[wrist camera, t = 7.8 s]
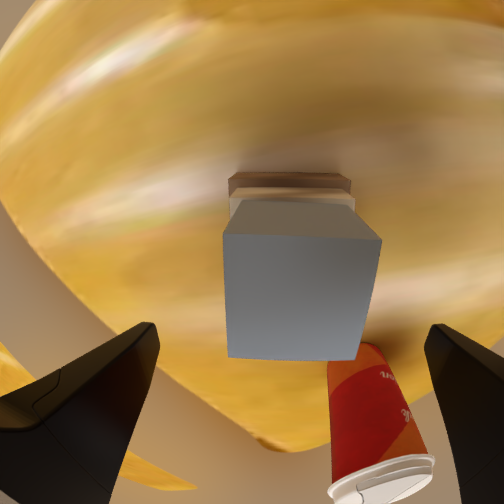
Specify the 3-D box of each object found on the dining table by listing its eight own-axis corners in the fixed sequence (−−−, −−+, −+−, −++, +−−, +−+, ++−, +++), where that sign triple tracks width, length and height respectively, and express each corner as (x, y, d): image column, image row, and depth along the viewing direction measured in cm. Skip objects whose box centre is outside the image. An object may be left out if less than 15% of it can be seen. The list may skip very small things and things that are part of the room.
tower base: (338, 173, 19) (365, 189, 13) (332, 267, 21) (351, 315, 15) (236, 172, 19) (218, 187, 13) (240, 266, 22) (226, 314, 16)
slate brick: (347, 204, 13) (382, 240, 8) (335, 297, 15) (354, 359, 10) (241, 200, 13) (222, 233, 9) (242, 293, 15) (228, 357, 11)
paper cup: (381, 386, 26) (413, 499, 13) (311, 392, 26) (319, 517, 13) (401, 329, 23) (460, 456, 10) (320, 333, 24) (342, 485, 11)
